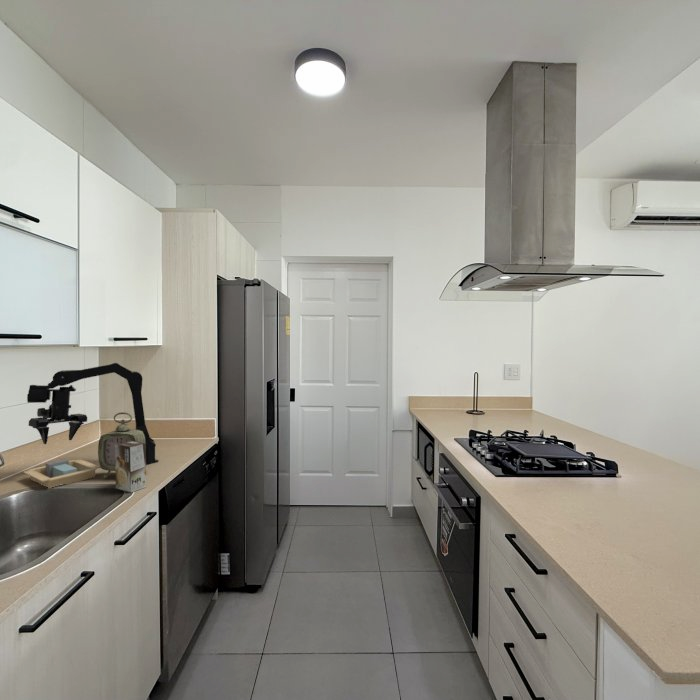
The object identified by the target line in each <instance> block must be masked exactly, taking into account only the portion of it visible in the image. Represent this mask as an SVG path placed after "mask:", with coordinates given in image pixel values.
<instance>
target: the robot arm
mask: <svg viewBox="0 0 700 700" xmlns="http://www.w3.org/2000/svg"><path fill="white" fill-rule="evenodd" d="M112 373H113V374H116V375H118V376H119V377H122V378H123V379H125V380H126V382H127V384H128V386H129V390H130V393H131V399H132V404H133V405H132V406H133V407H132V408H133V413H134V414H133V415H134V421H135V427H134V430H140V431H143V433H144V436H145V442H146V465H150V464H155V463H158V462H159V459H156V442H155V440H154V439H152V438H151V436H150V434H149V431H148V427H147V425H146V419H145V410H144V405H143V404H144V403H143V396H142V388H143V376H142V373H140V372H138V371H135V370H134V371H132V370H131V369H128V368H127V367H124V366H123V365H121V364H119V363H118V362H113V363H110V364H105V365H100V366H99V365H98V366H93V367H89V368H84V369H83V368H82V369H67V370H63V369H62V370H59V371H57V372H55V373H54V375H53V376H52V381H51V382H48V383H47V385H45V384H44V385H38V384H30V385H29V388H28V393H27V397H26V398H27V399H26V401H27V403H29V404H32V403H33V404H35V403H36V404H37V403H38V404H39V403H42V404H45V403H46V404H47V401H50V400H51V404H49V406H48V408H45V407H40V408H37V412H36V415H37V417H33V418H30V419H29V420H28V426H29V427H32V428H33V429H36V430H37V432H38V433H39V436H40V438H41V440H42V444H44V445H47V443H48V437H49V432H50V427H49V424H51V425H52V424H59V423H67V422H68V426H69V431H68V440H69V441H72V440H73V438H74V437H75V435H76V434H77V431H78V430H79V429H80V427H81V426H82V425H84V424H85V423H88V416H87V415H86V414H83V413H72V414H70V413H69V412H70V411H69V410H70V409H71V408H72V404H70V399H71V398H70V397H71V392H75V391H76V390H77V388H75V387H74V386H73V385H72V384H73V383H75V382H77V381H80V380H84V379H89V378H93V377H98V376H103V375H109V374H112ZM69 384H70V385H69ZM67 385H69V386H67ZM56 387H59V388H56ZM55 388H56V389H55ZM51 392H52V393H51ZM69 414H70V415H69Z"/></svg>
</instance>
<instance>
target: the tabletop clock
mask: <svg viewBox="0 0 700 700" xmlns="http://www.w3.org/2000/svg"><path fill="white" fill-rule="evenodd" d="M119 415H126V416H129V418H130V419H129V420H127V421H125V419H121V421H119V420H117V419H116V417H117V416H119ZM113 420H114V422H115V423H118V425H117V426H116V427H115V429H114V430H113V431H109V432H107V433H105V434H103V435H101V436H100V438H99V439H98V446H97V455H98V456H97V458H98V462H99V463H98V464H99V466H100V467H101V468H100V469H102V470H104V471H107V473H105V474H104V475H103V479H108V478H109V474H110V473H111V472H116V467H115V444H118V443H122V442H126V441H136V442H142V443H146V442H145V436H144V433H143V431H140V430H134V429H135V428H134V429H133V428H131V426H130V425H128V423H130V422H131V421H132V420H133V417H132V414H130V413H128V412H118V413H116V414H114V416H113Z"/></svg>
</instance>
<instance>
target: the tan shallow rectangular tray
mask: <svg viewBox="0 0 700 700" xmlns="http://www.w3.org/2000/svg"><path fill="white" fill-rule="evenodd" d="M68 461H69V465H70V466H72V467H75V468H77V472H74V473H69V474H65V475H61V476H57V477H53V478H49V477H47V476H46V465H43V466H38V467H35V468H29V469H28V470H24V471H23V474H26V475H27V476H29V479H31V481H32V480H33V482H34V481H36V482H38V483H40V484H42V485H45V486H47V487H48V488H47V489H48V490H50V489H53V488H52V487H53V486H56V485H60V484H66V485H68V484H67V483H70V484H74V483H77V482H81V481H84V480H85V481H86V480H88V478H89V479H93V478H96V471H97V469H101V467H100V465H97V464H94V463H92V462H89V461H87V460H83V459H75V460H74V459H72V460H68ZM92 477H93V478H92ZM36 482H35V483H36ZM73 482H74V483H73ZM38 483H37V484H38ZM40 484H39V485H40ZM42 485H41V486H42Z"/></svg>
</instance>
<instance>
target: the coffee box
mask: <svg viewBox="0 0 700 700" xmlns="http://www.w3.org/2000/svg"><path fill="white" fill-rule="evenodd" d="M115 467H116V471H115V489H118V490H121V491H124V492H128V493H133V492H136V491H140V490H142V489H146V488H147V464H146V443H142V442H136V441H126V442H122V443H118V444H115Z"/></svg>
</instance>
